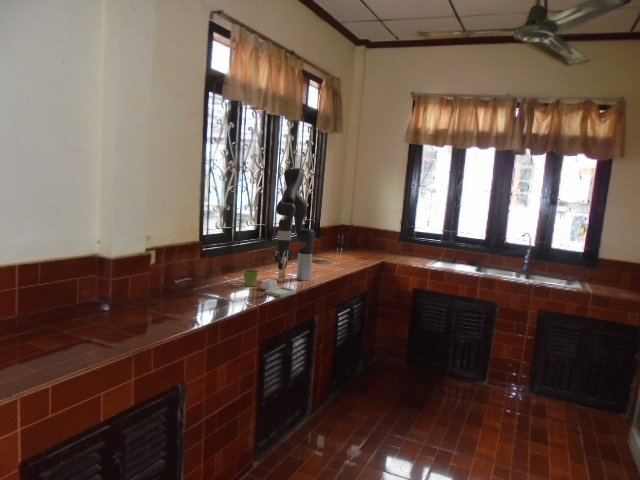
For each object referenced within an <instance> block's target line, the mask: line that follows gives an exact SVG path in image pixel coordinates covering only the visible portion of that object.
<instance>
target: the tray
mask: <svg viewBox="0 0 640 480" xmlns="http://www.w3.org/2000/svg"><path fill="white" fill-rule="evenodd" d="M297 293H298V290H297V289H295V288H289V287H286V286H282V285H281V286H278V287H277V288H273V289H269V290H264V295H267V296H271V297H272V296H273V297H275V298H279V299H281V298H284V297H288V296H293V295H295V294H297Z"/></svg>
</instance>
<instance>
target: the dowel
mask: <svg viewBox="0 0 640 480" xmlns="http://www.w3.org/2000/svg"><path fill="white" fill-rule="evenodd" d="M280 257H281V256H280ZM280 261H281V259H280ZM285 266H286V256H284V259H283V261H282V269H281V270H280V269H278V280H277V282H285V279H286V276H285V275H286V269H285Z"/></svg>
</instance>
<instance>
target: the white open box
mask: <svg viewBox="0 0 640 480" xmlns="http://www.w3.org/2000/svg"><path fill="white" fill-rule="evenodd" d="M277 283H278V280H275V279H270V278H267V279H262V280H261V290H264V289H265V290H269V289H273V288H277V286H278V285H277ZM265 290H264V291H265Z"/></svg>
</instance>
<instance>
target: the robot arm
mask: <svg viewBox="0 0 640 480" xmlns="http://www.w3.org/2000/svg"><path fill="white" fill-rule="evenodd" d="M283 175H284V177H283V178H284V181H285V184H286V189H285V190H284V192H283V195H282V198H281V199H280V200H279V202H278V203H277V204H276V208H275V211H276V213H277V214H278V215H279V216H288V217H287V218H284V219H279V220H278V229H277V231H278V232H277V238H276V246H277V250H276V251H274V252H273V255H274V260H275V262H276V263H277V268H278V269H277V270H279V269H280V270H281V269H282V261H283V259H284V256H286V266H285V270H286V269H287V265H288V262H289V261H290V260H291V258H292V254H293V250H290V248H291V242H292V221H294V225H295V236H296V240H297V241H298V242H299V243H304V244H305V245H304V246H302V247H300V248H298V250H297V251H298V253H297V264H296V265H297V266H296V279H297V280H299V281H310V280H312V275H313V274H312V273H313V262H312V261H313V251H314V247H315V246H314V244H315V238H316V235H315V230H313V229H310V228H304V219H305V217H306V216H307V212H308V208H307V203H306V200H305V198H304V197H303V195H301V194H300V193H299V192H298V191H299V190H300V188H301V186H302V184H303V182H304V177H305V176H304V171H303V169H302V168H299V167H297V168H287V169H285V170H284V174H283ZM293 219H294V220H293ZM280 256H281V257H280ZM280 259H281V261H280Z"/></svg>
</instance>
